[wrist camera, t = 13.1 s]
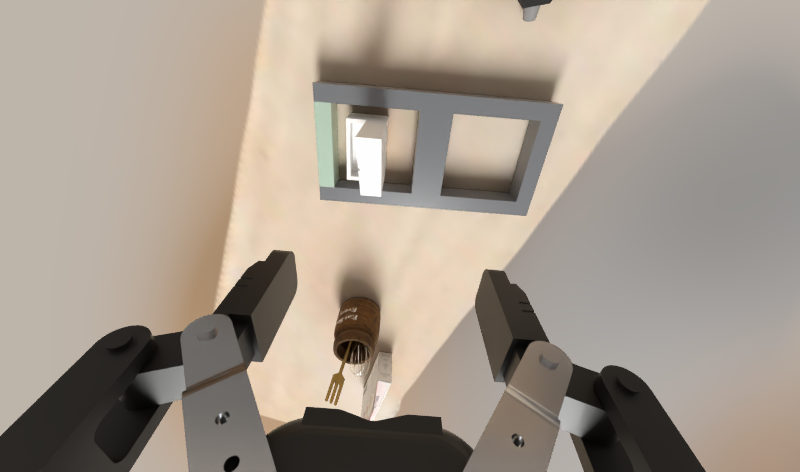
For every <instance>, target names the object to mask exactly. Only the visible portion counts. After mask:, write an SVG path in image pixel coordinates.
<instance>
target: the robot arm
mask: <svg viewBox="0 0 800 472" xmlns="http://www.w3.org/2000/svg"><path fill="white" fill-rule="evenodd" d="M296 290H297V273H296V264H295V256H294V253H293V252H291V251H280V250H273V251H272V252H271V254H270V255H269V256H268V258H267V259H266V261H258V262H257V263H255V264H254V265H252V266H251V267H249V268H248V269H247V270H246V271H245V273H244V274H243V275H242V277H241V279H239V280H238V282H237V283H236V284H235V287H233V288H232V289H231V291H230V292H229V293H228V295H227V296H226V297H225V299H224V300H223V301H222V302H221V304H220V305H219V306H218V308H217V309H216V310H215V312H214V313H213V314H211V315H207V316H203V317H201V318H199V319H196V320H195V321H193V322H192V323H190V324H189V325H188V326H187V327H186V328H185V329H184V330H183V331H181V332H176V333H170V334H164V335H158V336H152V334H151V332H150V330H149V329H148V328H146V327H144V326H139V325H137V326H128V327H124V328H121V329H118V330H116V331H113V332H111V333H109V334H107V335H106V336H104V337H102V338H101V339H100V340H98V341H97V342H96V343H95V344H94V345H93V346H92V347H91V348H90V349H89V350H88V351H87V352H86V353H85V354H84V355H83V356H82V357H81V358H80V359H79V360H78V361H77V362H76V363H75V364H74V365H73V366H72V367H71V368H70V369H69V370H68V371H66V372H65V373H64V374H63V375H62V376H61V377H60V378H59V379H58V381H56V382H55V383H54V384H53V385H52V386H51V387H50V388H49V389H48V390H47V391H46V392H45V393H44V394H43V395H42V396H41V397H40V398H39V399H38V400H37V401H36V402H35V403H34V404H33V405H32V406H31V407H30V408H29V409H28V410H27V411H26V412H25V413H23V414H22V416H21V417H20V418H18V419H17V420H16V421H15V422H14V423H13V424H12V425H11V426H10V427H9V428H8V429H7V430H6V431H5V432H4V433H3V434H2V435H1V436H0V472H129V471H130V470H131V468H132V467H133V465H134V463H135V462H136V460H137V459H138V457H139V455H140V454H141V452H142V450H143V449H144V447H145V446H146V444H147V442H148V441H149V439H150V438H151V436H152V434H153V433H154V431H155V430H156V428H157V426H158V425H159V423H160V422H161V420H162V418H163V417H164V415H165V414H166V412H167V410H168V409H169V407H170V405H171V404H172V402H173V401H177V400H182V408H183V417H184V428H185V437H186V447H187V458H188V466H189V472H547V468H548V465H549V462H550V459H551V455H552V452H553V449H554V445H555V442H556V439H557V435H558V431H559V428H560V429H562V430H565V431H567V432H570V435H571V437H572V440H573V443H574V446H575V448H576V451H577V453H578V456H579V459H580V462H581V464H582V467H583V470H584V472H706V471H705V470H704V468H703V467H702V466H701V464H700V462H699V461H698V459H697V458H696V456H695V455H694V453H693V452H692V450H691V449H690V447H689V446H688V444H687V443H686V442H685V440H684V439H683V437H682V436H681V434H680V433H679V431H678V430H677V428H676V427H675V425H674V424H673V422H672V421H671V419H670V418H669V416H668V415H667V413H666V412H665V410H664V409H663V407H662V406H661V404H660V403H659V401H658V400H657V398H656V397H655V395H654V394H653V392H652V391H651V389H650V388H649V387H648V385H647V384H646V383H645V382H644V381H643V380H642V379H641V378H639V377H638V376H637V375H635V374H634V373H632V372H630V371H628V370H627V369H624V368H622V367H618V366H613V365H610V366H606V367H604V368H603V369H602V371H601V372H600V373H597V372H594V371H591V370H589V369H586V368H583V367H580V366H577V365H575V364H573V363H572V362H571V360H570V359H569V357H568V356H567V355H566V354H565V352H563V351H562V350H561V349H560V348H558V347H557V346H555V345H553V344H551V343H550V342H549V340H548V338H547V336H546V334H545V332H544V330H543V328H542V326H541V325H540V322H539V320H538V318H537V316H536V314H535V313H534V310H533V308H532V306H531V305H530V302H529V300H528V298H527V296H526V294H525V293H524V292H523V291H522V290H521V289H520V288H519V287H518V286H517V285H516V284H510V282H509V280H508V278H507V275H506V273H505V272H504V271H499V270H488V269H486V270H485V271H484V272H483V275H482V279H481V282H480V285H479V289H478V292H477V295H476V300H475V309H476V313H477V317H478V321H479V325H480V329H481V332H482V336H483V340H484V343H485V347H486V351H487V355H488V358H489V363H490V366H491V370H492V374H493V378H494V381H495V382H505V383H506V389H505V391H504V393H503V395H502V397H501V399H500V401H499V403H498V405H497V407H496V409H495V410H494V413H493V414H492V416H491V418H490V420H489V422H488V424H487V426H486V428H485V430H484V432H483V434H482V436H481V438H480V440H479V441H478V443H477V445H476V447H475V449H474V450H473V449H472V448H471V447H470V446H469V445H468V444H467V443H466V442H465V441H463V440H462V439H461V438H459V437H458V436H456V435H455V434H453V433H451V432H449V431H447V430H445V429H442V422H441V417H432V416H418V415H404V416H399V417H394V418H389V419H385V420H380V421H370V420H367V419H364V418H361V417H359V416H356V415H353V414H351V413H348V412H345V411H343V410H340V409H328V408H315V407H306V410H305V413H304V416H303V418H301V419H297V420H294V421H291V422H288V423H286V424H284V425H281V426H280V427H278V428H277V429H274V430H273V431H271V432H270V433H269V434H267V435H266V434H265V431H264V428H263V424H262V421H261V418H260V414H259V411H258V408H257V404H256V401H255V398H254V394H253V391H252V388H251V384H250V381H249V378H248V374H247V371H246V370H247V368H248V366H249V365H250V363H251V361H255V362H263V360H264V358H265V356H266V354H267V352H268V350H269V348H270V345H271V343H272V341H273V339H274V337H275V335H276V333H277V331H278V329H279V327H280V325H281V323H282V321H283V319H284V317H285V315H286V312H287V310H288V308H289V306H290V304H291V302H292V300H293V298H294V296H295V293H296Z"/></svg>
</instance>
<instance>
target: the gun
mask: <svg viewBox="0 0 800 472" xmlns="http://www.w3.org/2000/svg"><path fill="white" fill-rule="evenodd" d="M551 1H552V0H518V2H519V3H520V5H521V6H522V8H524V9H523V20H524V21H527V22H530V21H534V20H535V19H536V17H537V13H538V10H539V7H540V5H544V4H549V3H550V2H551Z"/></svg>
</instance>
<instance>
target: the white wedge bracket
mask: <svg viewBox="0 0 800 472" xmlns="http://www.w3.org/2000/svg"><path fill="white" fill-rule="evenodd" d="M388 117H389V116H381V115H369V114H358V113H351V114H350V115H349V116H348V117H347V118H346V146H347V180H358V181H359V184H360V194H361V195H364V196H377V197H381V194H382V189H383V183H384V178H385V172H386V153H387V135H388Z"/></svg>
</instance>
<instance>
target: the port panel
mask: <svg viewBox="0 0 800 472" xmlns="http://www.w3.org/2000/svg"><path fill="white" fill-rule="evenodd" d="M313 95H314V110H315V125H316V140H317V155H318V170H319V185H320V200H331V201H343V202H356V203H369V204H382V205H394V206H407V207H420V208H432V209H445V210H458V211H471V212H483V213H496V214H509V215H521V216H526V215H527V212H528V209H529V206H530V203H531V200H532V197H533V194H534V191H535V188H536V185H537V182H538V179H539V176H540V173H541V170H542V167H543V164H544V161H545V158H546V155H547V152H548V149H549V146H550V143H551V140H552V137H553V134H554V131H555V128H556V125H557V122H558V119H559V116H560V113H561V110H562V107H563V104H559V103H555V102H552V101H541V100H530V99H519V98H507V97H496V96H485V95H473V94H462V93H451V92H440V91H428V90H417V89H406V88H394V87H383V86H372V85H360V84H349V83H338V82H326V81H317V82H313ZM337 104H349V105H360V106H372V107H383V108H395V109H406V110H418V111H419V113H418V123H417V133H416V143H415V152H414V162H413V172H412V181H411V185H406V184H393V183H383V189H382V194H381V197H377V196H364V195H361V194H360V184H359V181H356V180H344V179H339V163H338V130H337ZM453 114H464V115H476V116H487V117H499V118H510V119H522V120H530V121H529V125H528V128H527V132H526V135H525V139H524V142H523V146H522V149H521V153H520V156H519V160H518V163H517V167H516V170H515V174H514V177H513V181H512V184H511V188H510V191H509V193H505V192H493V191H480V190H468V189H456V188H443V187H442V182H443V175H444V169H445V163H446V157H447V150H448V144H449V138H450V132H451V125H452V119H453Z"/></svg>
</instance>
